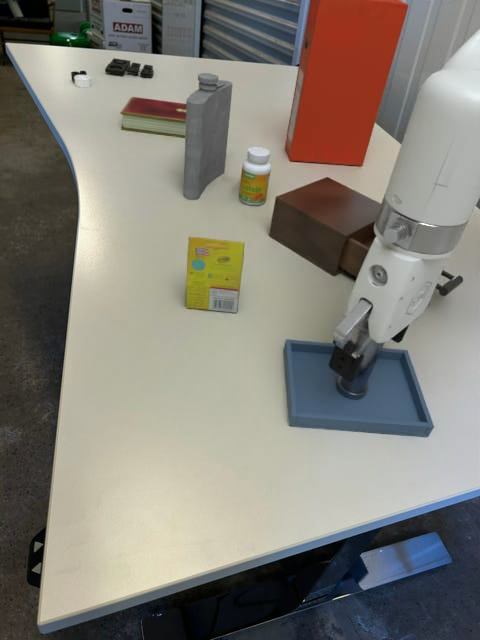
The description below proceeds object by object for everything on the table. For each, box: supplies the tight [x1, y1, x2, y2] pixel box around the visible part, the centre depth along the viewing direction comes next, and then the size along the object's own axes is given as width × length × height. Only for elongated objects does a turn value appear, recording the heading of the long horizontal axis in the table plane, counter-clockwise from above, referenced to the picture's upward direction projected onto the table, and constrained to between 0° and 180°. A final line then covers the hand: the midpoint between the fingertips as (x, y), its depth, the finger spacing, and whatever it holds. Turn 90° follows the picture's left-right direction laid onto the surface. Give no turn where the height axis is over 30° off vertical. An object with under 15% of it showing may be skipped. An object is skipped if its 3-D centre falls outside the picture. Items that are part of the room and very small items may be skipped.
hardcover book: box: [119, 96, 186, 139], centre depth 116 cm, size 12×21×4 cm, turn 87°
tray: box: [283, 338, 435, 438], centre depth 59 cm, size 16×12×2 cm
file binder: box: [284, 0, 409, 167], centre depth 103 cm, size 8×17×32 cm, turn 95°
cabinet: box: [268, 176, 382, 277], centre depth 82 cm, size 15×14×8 cm
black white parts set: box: [70, 57, 154, 89], centre depth 140 cm, size 20×25×3 cm
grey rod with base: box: [336, 319, 386, 400], centre depth 55 cm, size 4×5×10 cm
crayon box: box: [185, 236, 246, 314], centre depth 65 cm, size 7×3×12 cm, turn 88°
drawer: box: [339, 225, 464, 297], centre depth 75 cm, size 18×13×6 cm
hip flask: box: [182, 72, 233, 201], centre depth 90 cm, size 16×4×20 cm, turn 160°
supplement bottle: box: [238, 146, 272, 206], centre depth 90 cm, size 5×5×10 cm
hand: (366, 353), depth 55 cm, fingers open, 9 cm apart
